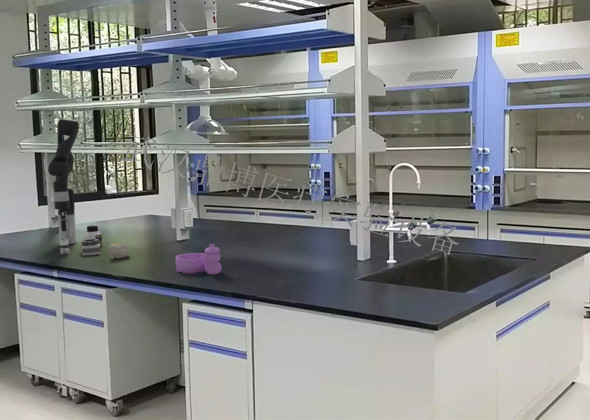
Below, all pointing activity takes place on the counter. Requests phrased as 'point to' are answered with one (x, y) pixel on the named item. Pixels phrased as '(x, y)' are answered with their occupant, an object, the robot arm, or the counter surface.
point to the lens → (64, 246)
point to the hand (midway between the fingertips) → (63, 230)
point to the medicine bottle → (93, 234)
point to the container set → (200, 261)
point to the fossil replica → (118, 250)
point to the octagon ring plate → (90, 247)
